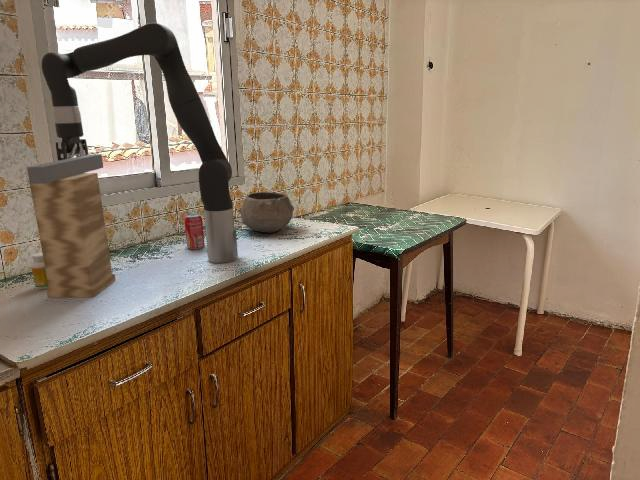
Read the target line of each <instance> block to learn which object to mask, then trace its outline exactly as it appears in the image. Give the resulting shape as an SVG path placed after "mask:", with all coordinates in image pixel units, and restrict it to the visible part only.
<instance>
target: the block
mask: <svg viewBox="0 0 640 480" xmlns="http://www.w3.org/2000/svg"><path fill="white" fill-rule="evenodd" d="M100 169H104V162H103V155H102V153H100V154H97V153H96V154H89V153H88V155H84V156H80V155H79V157H76V156H74V157H73V158H69V159H68V158H67V159H64V160H60V161H58V160H55V161H51V162H46V163H41V164H37V165H32V166H31V165H30V166H27V167H26V171H27V176H28V177H27V178H28V181H29V182H30V183H29V182H28V183H29V185H30V184H46V183H50V182H53V181H57V180H60V179H64V178H68V177H71V176H75V175H78V174H82V173H90V172H92V171H96V170H100Z"/></svg>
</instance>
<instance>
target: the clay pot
mask: <svg viewBox="0 0 640 480" xmlns="http://www.w3.org/2000/svg"><path fill="white" fill-rule="evenodd" d="M294 210H295V208H294V205H292V202H291V199H290V198H289V197H288V195H287V194H285V193H281V192H280V193H279V192H270V191H263V192H262V191H259V192H252V193H248V194H247V195H246V197H245V198H244V199H243V201H242V205H241V207H239V210H238V213H239V214H240V218H241V221H242V223H243V224H244V225H245V226H246V227H247V228H249V229H251V230H253V231H256V232H260V233H268V234H269V233H270V234H271V233H275V232H278V231H280V230H283V229H284V228H286V227H287V226H288V225H289V224H290V222H291V221H292V220H293V219H292V218H293V216H294V215H293V214H294Z"/></svg>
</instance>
